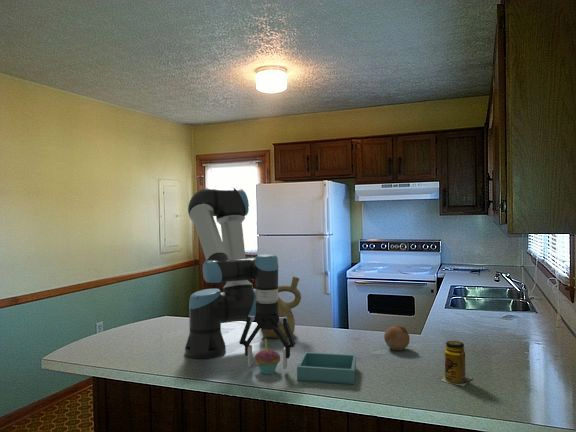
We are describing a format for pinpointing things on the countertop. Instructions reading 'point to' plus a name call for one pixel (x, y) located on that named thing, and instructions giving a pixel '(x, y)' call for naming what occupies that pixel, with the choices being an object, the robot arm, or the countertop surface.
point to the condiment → (455, 364)
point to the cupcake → (267, 360)
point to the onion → (397, 337)
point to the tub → (327, 368)
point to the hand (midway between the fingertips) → (267, 366)
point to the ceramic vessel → (286, 309)
